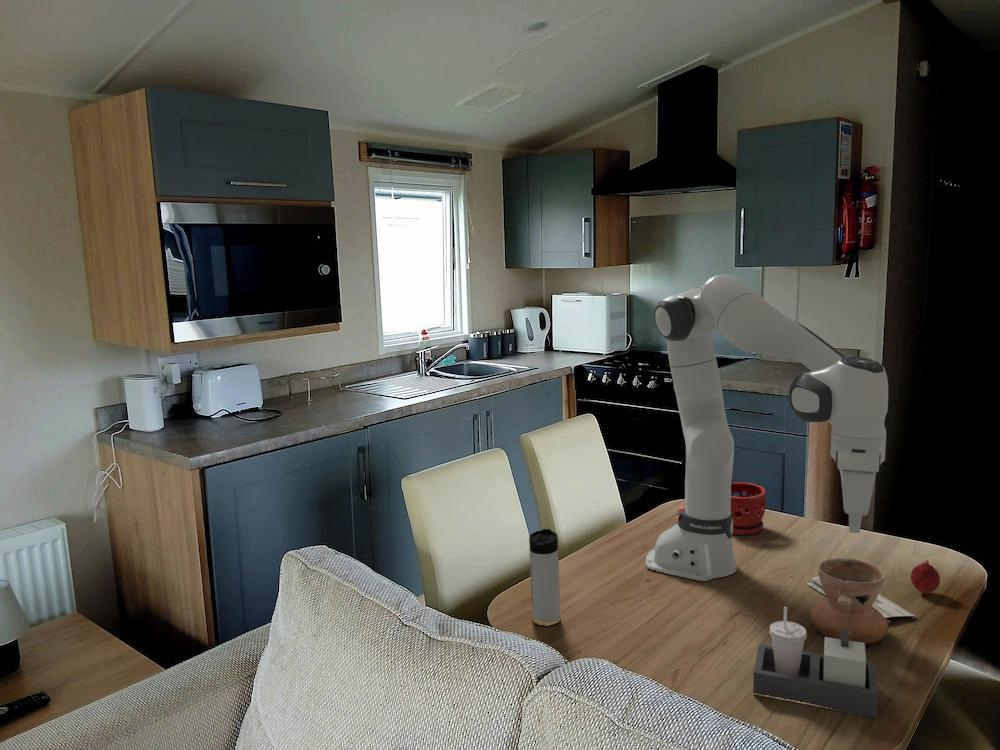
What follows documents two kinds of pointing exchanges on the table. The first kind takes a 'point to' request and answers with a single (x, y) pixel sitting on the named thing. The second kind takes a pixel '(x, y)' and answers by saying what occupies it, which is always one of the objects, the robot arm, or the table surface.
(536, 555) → the travel mug
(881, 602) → the newspaper
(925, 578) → the onion
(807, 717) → the table surface
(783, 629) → the smoothie
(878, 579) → the ceramic jug
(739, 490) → the plant pot
